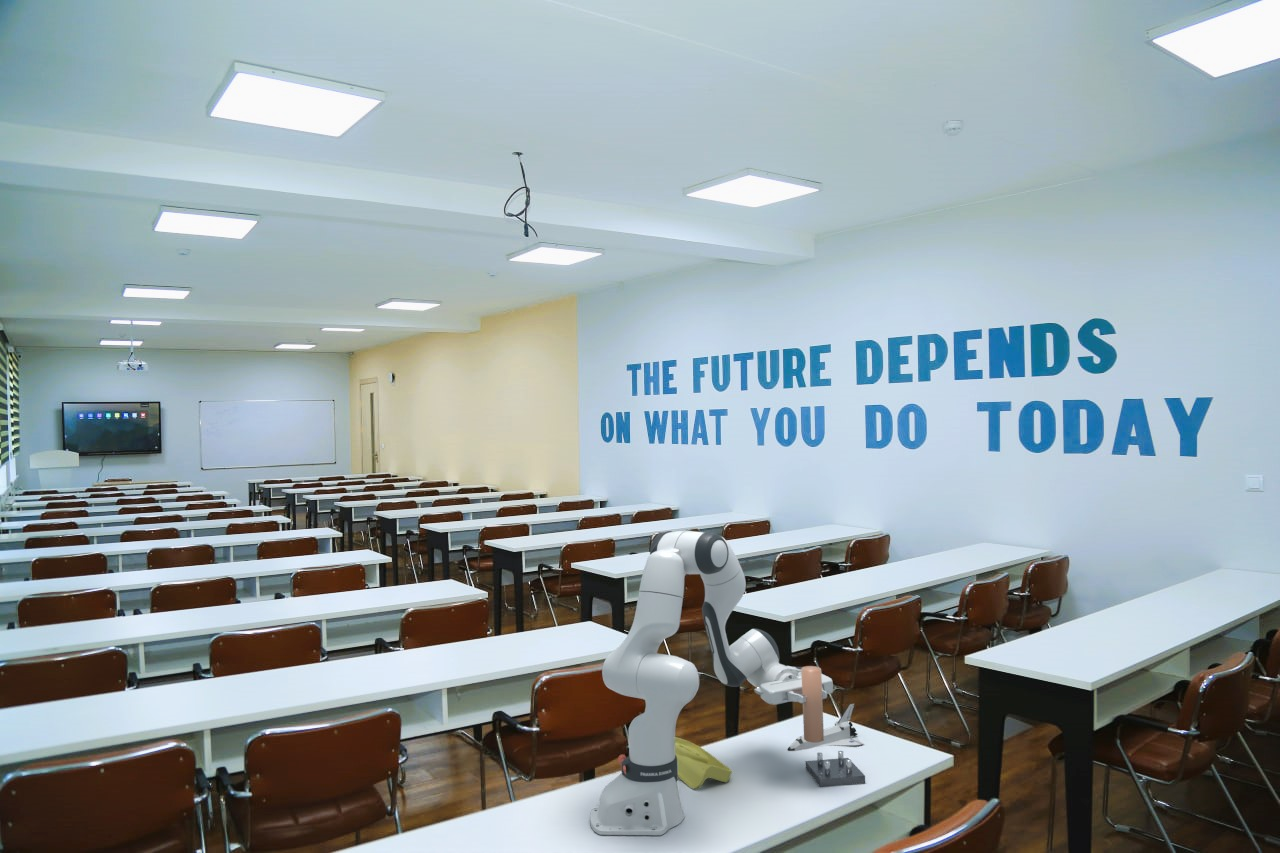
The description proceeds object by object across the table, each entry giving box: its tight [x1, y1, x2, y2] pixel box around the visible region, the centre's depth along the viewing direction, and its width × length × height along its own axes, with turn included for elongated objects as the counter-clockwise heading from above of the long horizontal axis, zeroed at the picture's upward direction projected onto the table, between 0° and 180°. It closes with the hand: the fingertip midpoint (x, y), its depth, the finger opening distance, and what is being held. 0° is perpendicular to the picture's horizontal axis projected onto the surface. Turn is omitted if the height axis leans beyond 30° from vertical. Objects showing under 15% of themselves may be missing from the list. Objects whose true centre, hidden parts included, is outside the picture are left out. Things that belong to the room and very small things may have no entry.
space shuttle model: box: [787, 702, 865, 752], centre depth 234 cm, size 16×25×10 cm, turn 116°
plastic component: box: [675, 736, 733, 790], centre depth 215 cm, size 20×7×10 cm
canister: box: [801, 665, 825, 743], centre depth 204 cm, size 5×5×18 cm
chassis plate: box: [804, 750, 866, 788], centre depth 210 cm, size 12×12×5 cm
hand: (814, 697), depth 204 cm, fingers closed on canister, 5 cm apart
